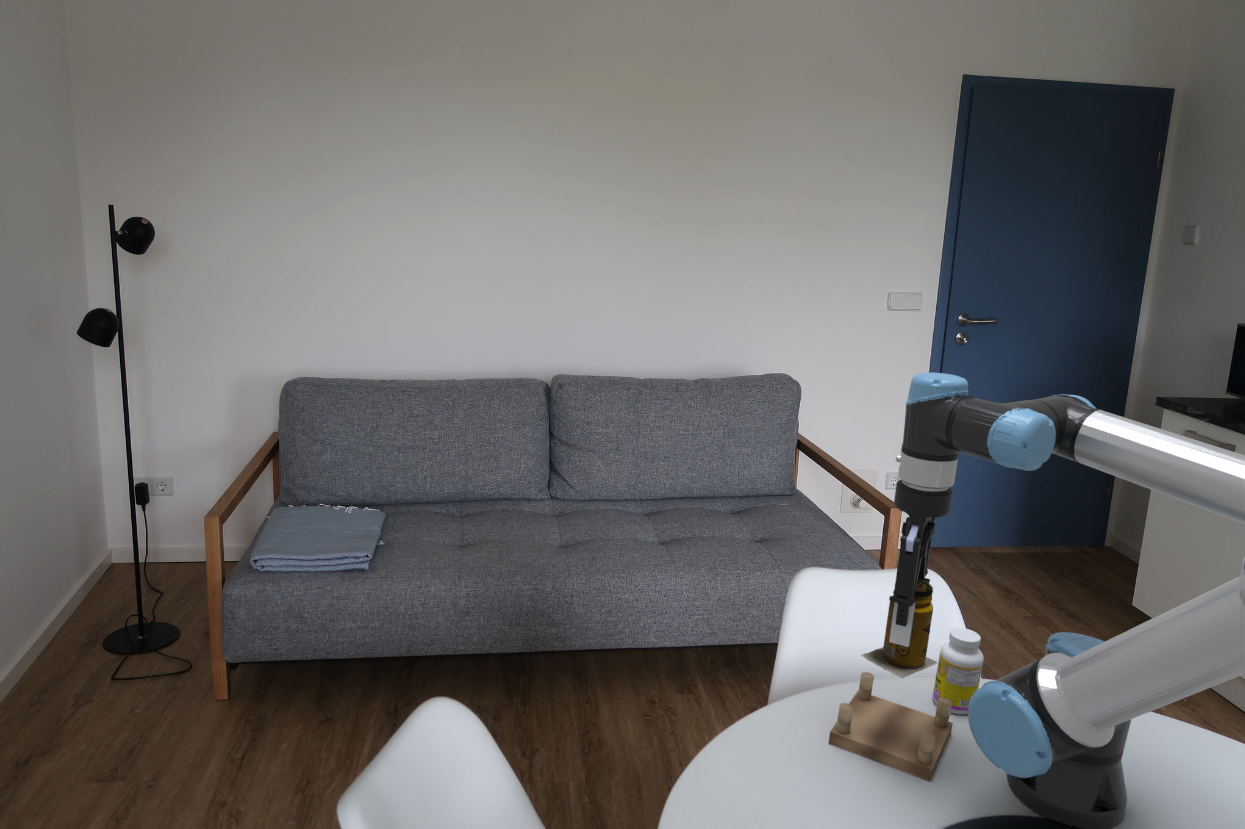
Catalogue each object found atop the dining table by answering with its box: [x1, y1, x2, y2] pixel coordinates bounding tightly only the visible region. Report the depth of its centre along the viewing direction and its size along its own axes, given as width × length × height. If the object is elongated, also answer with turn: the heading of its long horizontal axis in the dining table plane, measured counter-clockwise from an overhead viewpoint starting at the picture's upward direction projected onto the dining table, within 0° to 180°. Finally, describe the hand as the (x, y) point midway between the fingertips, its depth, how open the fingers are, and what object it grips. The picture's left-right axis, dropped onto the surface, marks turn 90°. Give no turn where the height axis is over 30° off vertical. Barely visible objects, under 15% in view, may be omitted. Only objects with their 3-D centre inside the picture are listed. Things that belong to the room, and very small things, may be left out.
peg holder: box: [828, 671, 954, 782], centre depth 135 cm, size 15×14×6 cm
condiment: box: [860, 579, 939, 679], centre depth 129 cm, size 7×8×12 cm
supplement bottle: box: [932, 627, 985, 715], centre depth 145 cm, size 7×7×13 cm
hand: (903, 633), depth 130 cm, fingers closed on condiment, 6 cm apart
